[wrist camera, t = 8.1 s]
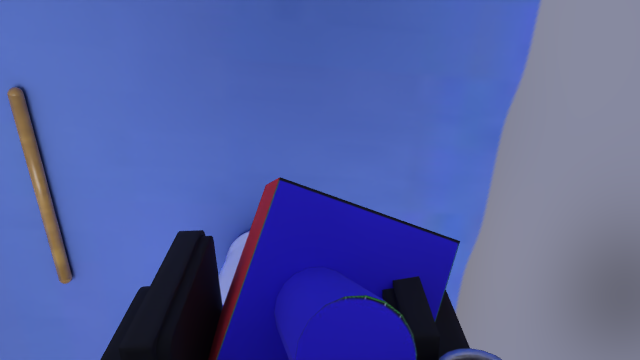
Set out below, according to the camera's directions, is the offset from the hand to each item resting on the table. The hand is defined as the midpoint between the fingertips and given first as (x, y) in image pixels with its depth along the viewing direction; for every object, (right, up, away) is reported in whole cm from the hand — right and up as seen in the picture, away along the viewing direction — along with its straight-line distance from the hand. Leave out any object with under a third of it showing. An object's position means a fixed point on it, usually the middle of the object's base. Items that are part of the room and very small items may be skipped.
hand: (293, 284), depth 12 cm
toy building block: (0, +1, +1) cm, 2 cm away
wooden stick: (-19, +2, +23) cm, 30 cm away
